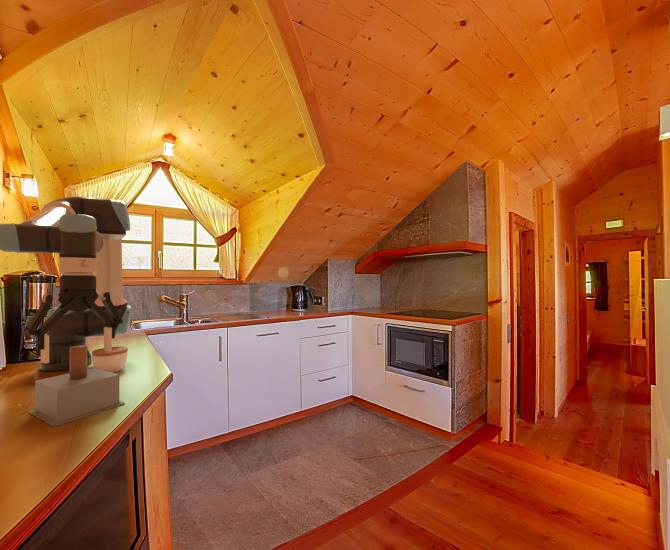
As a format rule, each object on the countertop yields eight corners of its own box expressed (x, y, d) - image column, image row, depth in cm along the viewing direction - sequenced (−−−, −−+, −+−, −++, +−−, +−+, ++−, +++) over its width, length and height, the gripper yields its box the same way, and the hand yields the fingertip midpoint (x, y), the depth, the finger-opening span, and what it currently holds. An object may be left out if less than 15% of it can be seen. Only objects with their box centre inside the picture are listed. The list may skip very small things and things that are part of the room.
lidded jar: (109, 376, 110) (109, 349, 110) (83, 374, 112) (83, 347, 112) (134, 367, 121) (134, 342, 121) (110, 366, 123) (110, 341, 123)
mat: (97, 394, 94) (97, 392, 94) (124, 404, 86) (124, 402, 86) (29, 412, 81) (29, 411, 81) (53, 427, 73) (53, 425, 73)
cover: (95, 394, 92) (95, 339, 92) (119, 403, 86) (119, 344, 86) (35, 410, 81) (35, 348, 81) (57, 422, 74) (57, 355, 74)
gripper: (18, 274, 71) (18, 370, 71) (136, 274, 92) (136, 348, 92) (6, 274, 75) (7, 365, 75) (122, 274, 96) (122, 345, 96)
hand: (78, 356), depth 83 cm, fingers open, 13 cm apart
